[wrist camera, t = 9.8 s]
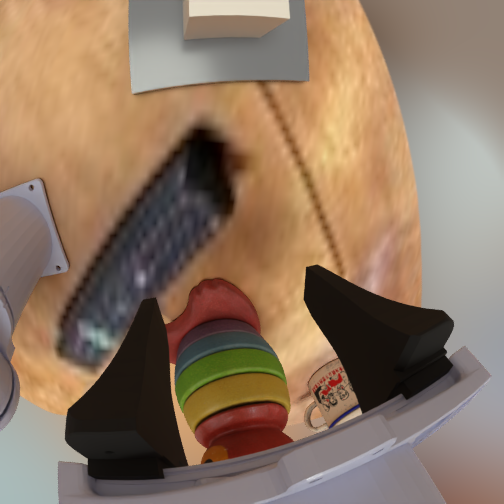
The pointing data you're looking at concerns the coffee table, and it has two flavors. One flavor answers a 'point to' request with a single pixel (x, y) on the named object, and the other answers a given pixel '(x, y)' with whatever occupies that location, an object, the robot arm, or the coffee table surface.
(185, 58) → the plate
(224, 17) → the block
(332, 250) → the coffee table surface
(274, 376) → the stacking bear
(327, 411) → the teacup with lid
